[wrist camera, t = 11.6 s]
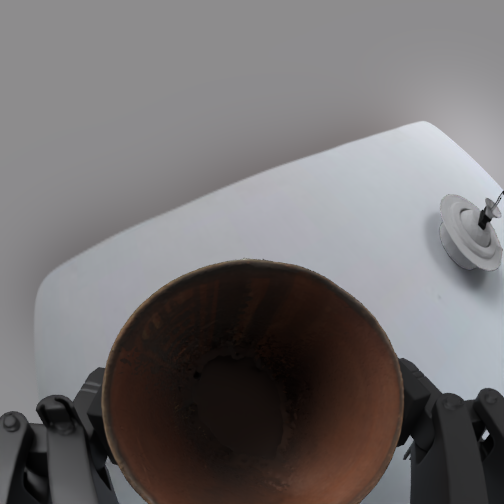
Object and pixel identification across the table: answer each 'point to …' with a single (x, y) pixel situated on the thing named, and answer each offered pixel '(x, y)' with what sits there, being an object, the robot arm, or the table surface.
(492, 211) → the round stand with stem
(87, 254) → the table surface
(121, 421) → the cup
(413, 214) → the table surface
